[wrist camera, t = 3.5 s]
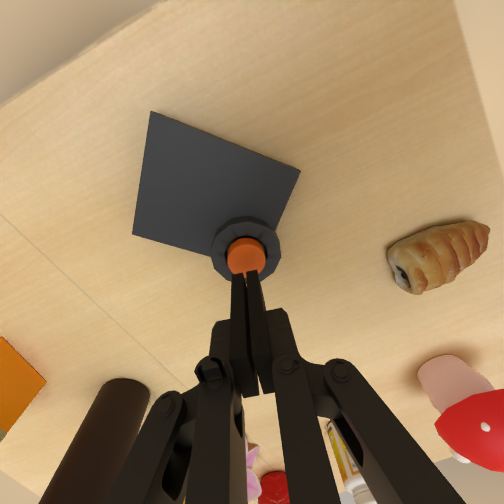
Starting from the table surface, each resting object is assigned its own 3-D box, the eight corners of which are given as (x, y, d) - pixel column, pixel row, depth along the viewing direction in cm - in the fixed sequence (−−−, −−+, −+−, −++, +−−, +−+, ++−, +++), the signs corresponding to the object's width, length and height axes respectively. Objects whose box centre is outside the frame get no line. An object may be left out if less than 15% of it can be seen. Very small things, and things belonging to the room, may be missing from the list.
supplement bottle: (338, 435, 42) (366, 518, 33) (319, 426, 40) (344, 511, 31) (363, 422, 40) (400, 505, 31) (345, 411, 38) (378, 496, 29)
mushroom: (438, 396, 38) (516, 497, 27) (386, 383, 36) (451, 489, 25) (489, 354, 34) (605, 454, 23) (435, 337, 32) (536, 439, 21)
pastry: (469, 200, 23) (510, 211, 19) (477, 250, 26) (514, 268, 22) (379, 247, 25) (402, 265, 21) (396, 289, 27) (419, 311, 24)
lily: (257, 456, 46) (282, 509, 37) (199, 493, 41) (213, 563, 33) (246, 405, 44) (270, 447, 35) (184, 438, 39) (194, 495, 31)
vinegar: (159, 390, 33) (69, 686, 15) (134, 412, 35) (28, 697, 17) (116, 370, 31) (-51, 694, 13) (91, 395, 33) (-83, 705, 15)
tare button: (269, 243, 20) (271, 251, 19) (256, 272, 21) (257, 282, 20) (234, 232, 19) (234, 239, 18) (223, 263, 21) (222, 272, 19)
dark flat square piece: (306, 172, 21) (318, 178, 17) (261, 271, 25) (265, 291, 22) (158, 113, 18) (141, 108, 15) (138, 236, 22) (122, 252, 19)
